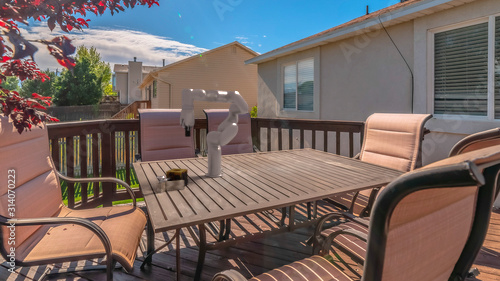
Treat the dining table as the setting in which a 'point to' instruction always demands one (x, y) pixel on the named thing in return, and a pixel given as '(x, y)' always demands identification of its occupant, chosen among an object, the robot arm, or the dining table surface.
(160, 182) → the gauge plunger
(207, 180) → the dining table surface
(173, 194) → the dining table surface
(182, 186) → the centring jig
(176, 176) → the candle
